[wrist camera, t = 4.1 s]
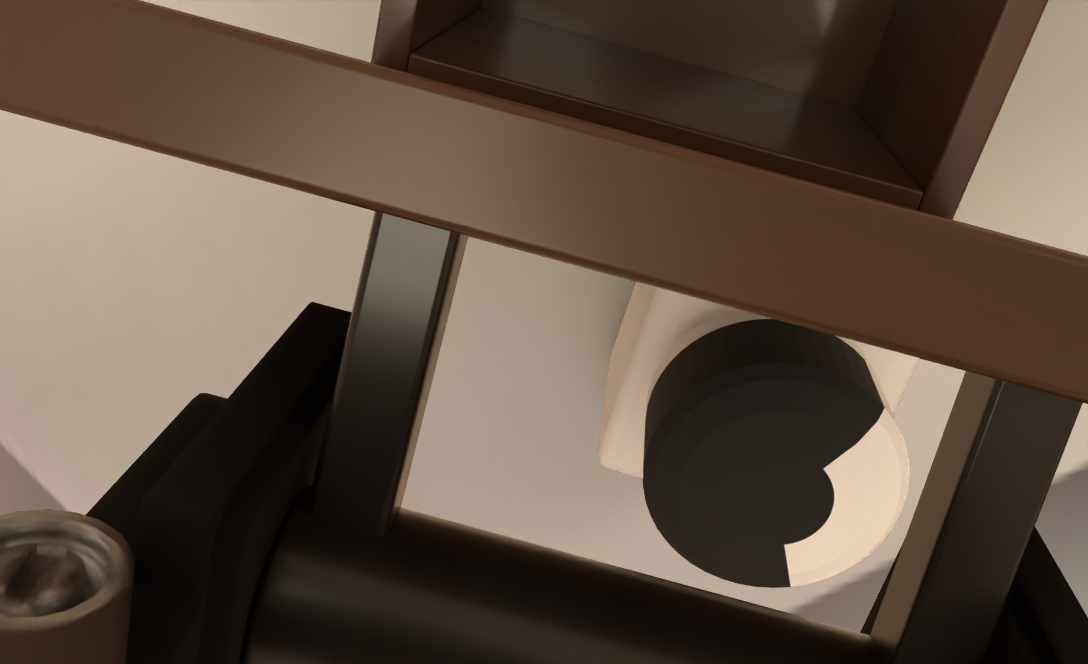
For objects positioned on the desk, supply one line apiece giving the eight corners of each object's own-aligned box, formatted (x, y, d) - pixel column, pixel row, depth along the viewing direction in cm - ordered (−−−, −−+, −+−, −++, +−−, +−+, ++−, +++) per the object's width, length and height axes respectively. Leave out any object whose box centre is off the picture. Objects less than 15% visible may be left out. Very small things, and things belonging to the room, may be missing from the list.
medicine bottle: (607, 361, 35) (580, 576, 24) (673, 168, 32) (675, 313, 21) (804, 420, 35) (866, 661, 24) (888, 233, 32) (1001, 410, 21)
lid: (-311, -121, 6) (-378, 722, 7) (1980, 497, 6) (1536, 1246, 7) (365, 64, 22) (313, 304, 23) (957, 224, 22) (876, 457, 23)
